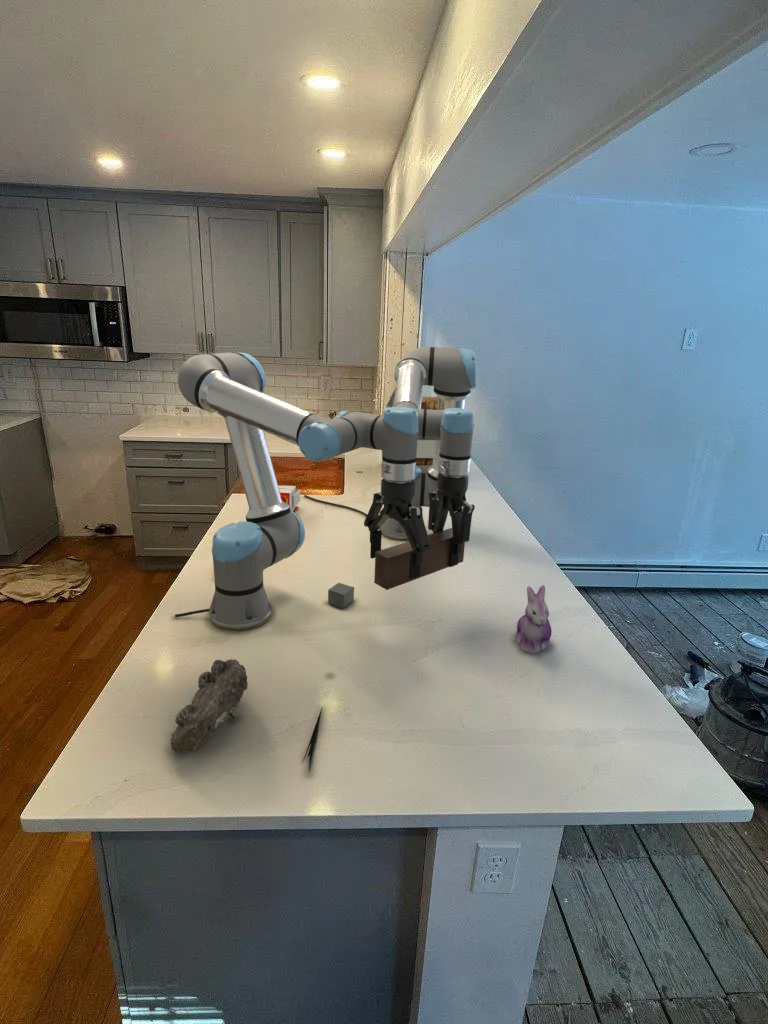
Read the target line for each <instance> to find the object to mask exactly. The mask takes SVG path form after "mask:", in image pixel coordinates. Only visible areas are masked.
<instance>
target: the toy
mask: <svg viewBox="0 0 768 1024" xmlns="http://www.w3.org/2000/svg"><path fill="white" fill-rule="evenodd" d="M278 488H279V491H280V495H281V499H282V501H283V502H285V503H286V504H288V505H289V506H290V510H291V511H292V512H294V513H296V511H298V508H299V506H297V505H299V503H300V502H301V489H298V490H297V487H296V485H279V484H278Z"/></svg>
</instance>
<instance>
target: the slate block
mask: <svg viewBox="0 0 768 1024" xmlns="http://www.w3.org/2000/svg"><path fill="white" fill-rule="evenodd" d="M354 600H355V587H354V586H352V585H351V586H350V585H348V584H345V583H341V582H338V583H335V585H333V586H331V587H330V588H328V589H327V603H328V604H330V605H333V606H336V607H339V608H341V609H345V608H346V607H347V606H349V605H350V604H352V602H353V601H354Z"/></svg>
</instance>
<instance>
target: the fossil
mask: <svg viewBox="0 0 768 1024" xmlns="http://www.w3.org/2000/svg"><path fill="white" fill-rule="evenodd" d="M197 683H198V684H197V687H198V690H197V691H196V693H195V694H194V697H193V698H192V701H191V704H187V705H185V706H184V707H183V708H182V709H181V710H179V712H178V713H177V715H176V717H175V719H174V721H175V723H176V725H177V726H176V728H175V730H174V731H173V732H172V733H171V735H170V736H171V738H170V747H171V750H172V751H176V752H178V753H186V752H190V751H193V752H195V751H197V750H198V749H199V748H200V747H201V746H202V745H203V744H204V743H205V742H207V741H208V740H209V739H210V737H211V736H212V735H213V734H215V733H216V731H218V730H219V729H220V728H221V726H222V725H223V723H224V721H225V720H226V719H227V718H228V717H230V718H232V720H235V719H236V716H235V715H234V714H233V713H232V710H233V709H235V708H237V706H238V705H239V704H240V702H241V700H242V698H243V696H244V693H245V691H246V690H247V689H248V686H249V685H248V675H247V669H246V668H245V666H244V665H243V664H241V663H240V661H238V660H237V659H236V658H234V659H232V658H230V659H226V660H221V659H216V660H214V661H213V662H212V665H211V667H210V671H208V670H207V671H205V672H201V674H200V675H199V676H198V681H197Z"/></svg>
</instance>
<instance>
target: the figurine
mask: <svg viewBox="0 0 768 1024" xmlns="http://www.w3.org/2000/svg"><path fill="white" fill-rule="evenodd" d="M526 594H527V604H526V606H525V610H524V614H523V615H522V616H521V617H520V618H518V621H517V623H516V624H517V625H516V632H515V634H516V635H515V641H516V643H517V645H519V646H520V648H521V650H522V651H524V652H526V653H531V654H533V653H534V654H537V653H539V652H540V651H545V650H546V649H547V648H548V646H549V644H550V639H551V637H552V626H551V623H550V620H549V617H550V611H549V607H548V605H547V603H546V600H545V597H546V596H545V595H546V586H545V585H544V584H542V585H540V586H539V588H538V591H537V592H536V593H535V591H534V589H533V588H532V587H531V586H530V585H528V586H527V587H526Z"/></svg>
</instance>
